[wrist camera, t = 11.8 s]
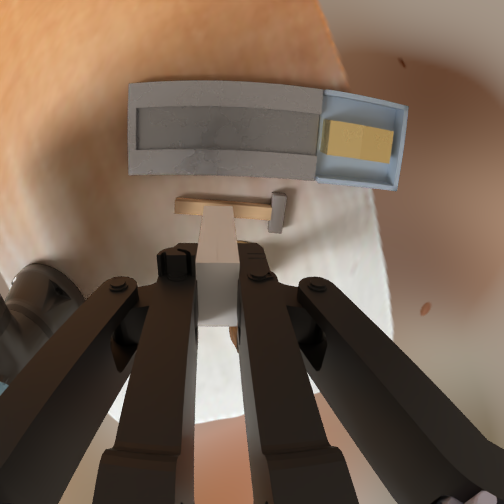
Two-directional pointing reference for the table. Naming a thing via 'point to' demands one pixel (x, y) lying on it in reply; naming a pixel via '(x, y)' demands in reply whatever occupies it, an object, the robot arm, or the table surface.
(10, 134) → the table surface
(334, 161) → the tray
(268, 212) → the hammer
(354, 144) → the yellow square block
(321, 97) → the slot board
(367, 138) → the chip
